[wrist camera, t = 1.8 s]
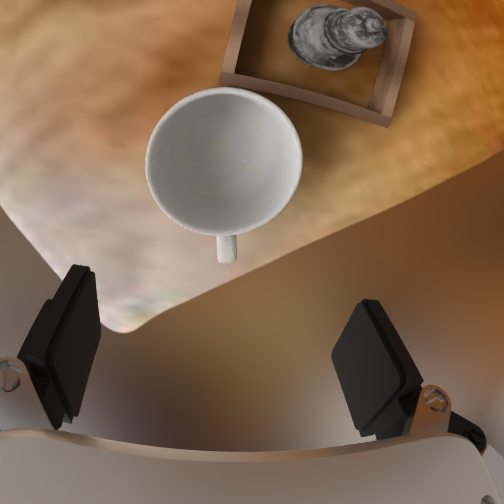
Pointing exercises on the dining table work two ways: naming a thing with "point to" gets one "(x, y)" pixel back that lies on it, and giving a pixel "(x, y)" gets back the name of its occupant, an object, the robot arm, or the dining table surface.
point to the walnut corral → (376, 112)
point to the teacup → (223, 164)
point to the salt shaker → (335, 35)
